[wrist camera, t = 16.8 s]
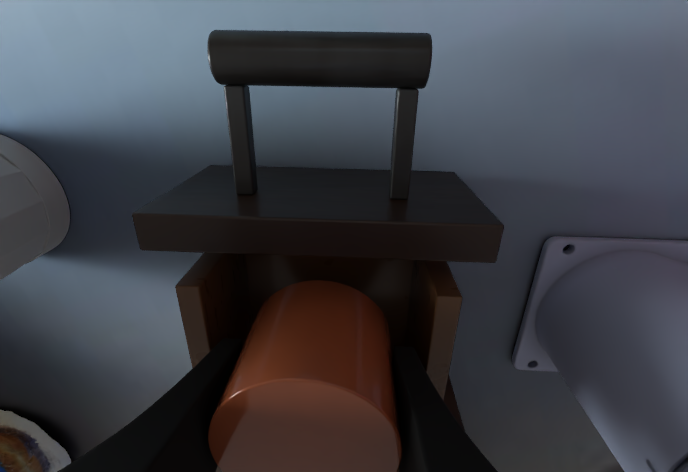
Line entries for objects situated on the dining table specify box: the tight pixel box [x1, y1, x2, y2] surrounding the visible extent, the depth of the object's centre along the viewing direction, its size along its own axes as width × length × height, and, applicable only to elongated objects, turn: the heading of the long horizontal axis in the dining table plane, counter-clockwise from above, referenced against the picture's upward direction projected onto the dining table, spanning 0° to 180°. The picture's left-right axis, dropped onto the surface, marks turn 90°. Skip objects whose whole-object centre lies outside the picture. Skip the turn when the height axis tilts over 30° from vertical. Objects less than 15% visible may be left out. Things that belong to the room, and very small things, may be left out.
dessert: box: [0, 409, 71, 472], centre depth 24 cm, size 8×7×6 cm
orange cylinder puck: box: [208, 280, 402, 472], centre depth 12 cm, size 5×5×4 cm
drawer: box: [132, 30, 504, 400], centre depth 14 cm, size 17×10×6 cm, turn 179°
